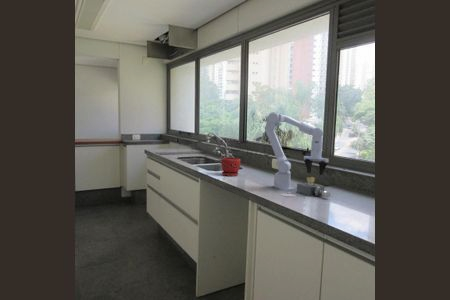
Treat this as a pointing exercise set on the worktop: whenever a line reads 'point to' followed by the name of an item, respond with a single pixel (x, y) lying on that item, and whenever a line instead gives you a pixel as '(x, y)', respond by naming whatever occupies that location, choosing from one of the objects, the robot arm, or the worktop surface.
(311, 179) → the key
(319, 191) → the chuck
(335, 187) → the worktop surface
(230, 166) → the plant pot
